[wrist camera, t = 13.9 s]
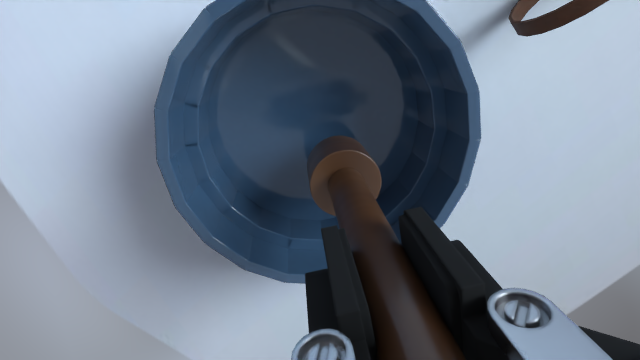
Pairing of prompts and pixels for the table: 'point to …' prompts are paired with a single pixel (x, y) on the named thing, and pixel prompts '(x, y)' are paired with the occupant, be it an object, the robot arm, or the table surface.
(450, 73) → the bowl
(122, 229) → the table surface
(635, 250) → the table surface
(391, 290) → the stirring stick
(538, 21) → the brown barrel bag
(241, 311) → the table surface
